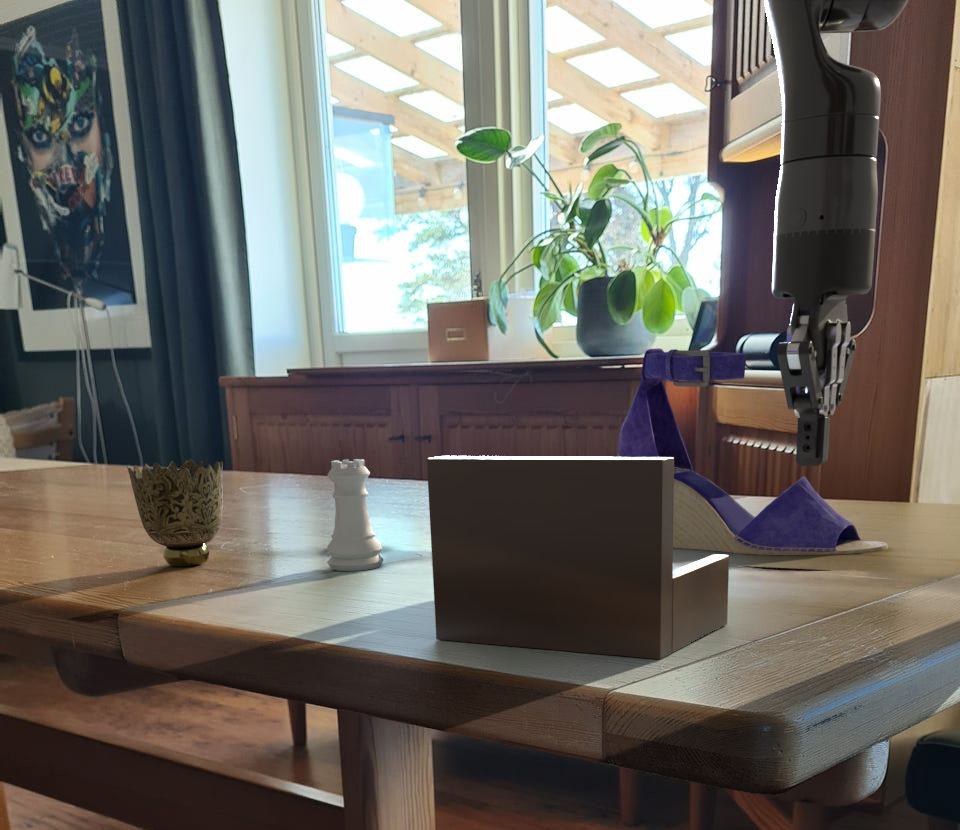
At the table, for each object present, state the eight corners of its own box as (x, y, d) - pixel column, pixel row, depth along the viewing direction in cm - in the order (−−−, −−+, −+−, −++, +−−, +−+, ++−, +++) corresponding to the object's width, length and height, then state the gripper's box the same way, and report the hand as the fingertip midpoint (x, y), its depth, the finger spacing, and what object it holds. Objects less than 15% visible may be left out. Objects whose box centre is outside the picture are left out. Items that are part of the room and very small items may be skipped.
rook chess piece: (353, 573, 97) (345, 464, 94) (315, 569, 100) (306, 462, 97) (396, 565, 100) (389, 458, 97) (357, 561, 103) (350, 457, 100)
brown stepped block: (518, 609, 81) (513, 444, 78) (727, 624, 74) (732, 444, 71) (436, 639, 74) (426, 458, 70) (660, 659, 67) (662, 459, 63)
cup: (251, 561, 106) (240, 460, 103) (176, 574, 101) (163, 468, 98) (197, 555, 110) (185, 458, 107) (123, 567, 105) (109, 466, 102)
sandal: (862, 577, 87) (878, 338, 81) (603, 563, 97) (601, 351, 92) (898, 559, 93) (915, 336, 87) (651, 547, 103) (652, 348, 98)
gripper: (848, 220, 91) (832, 473, 97) (897, 229, 101) (880, 458, 108) (746, 228, 95) (738, 472, 101) (804, 237, 105) (793, 457, 111)
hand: (811, 464), depth 104 cm, fingers closed
